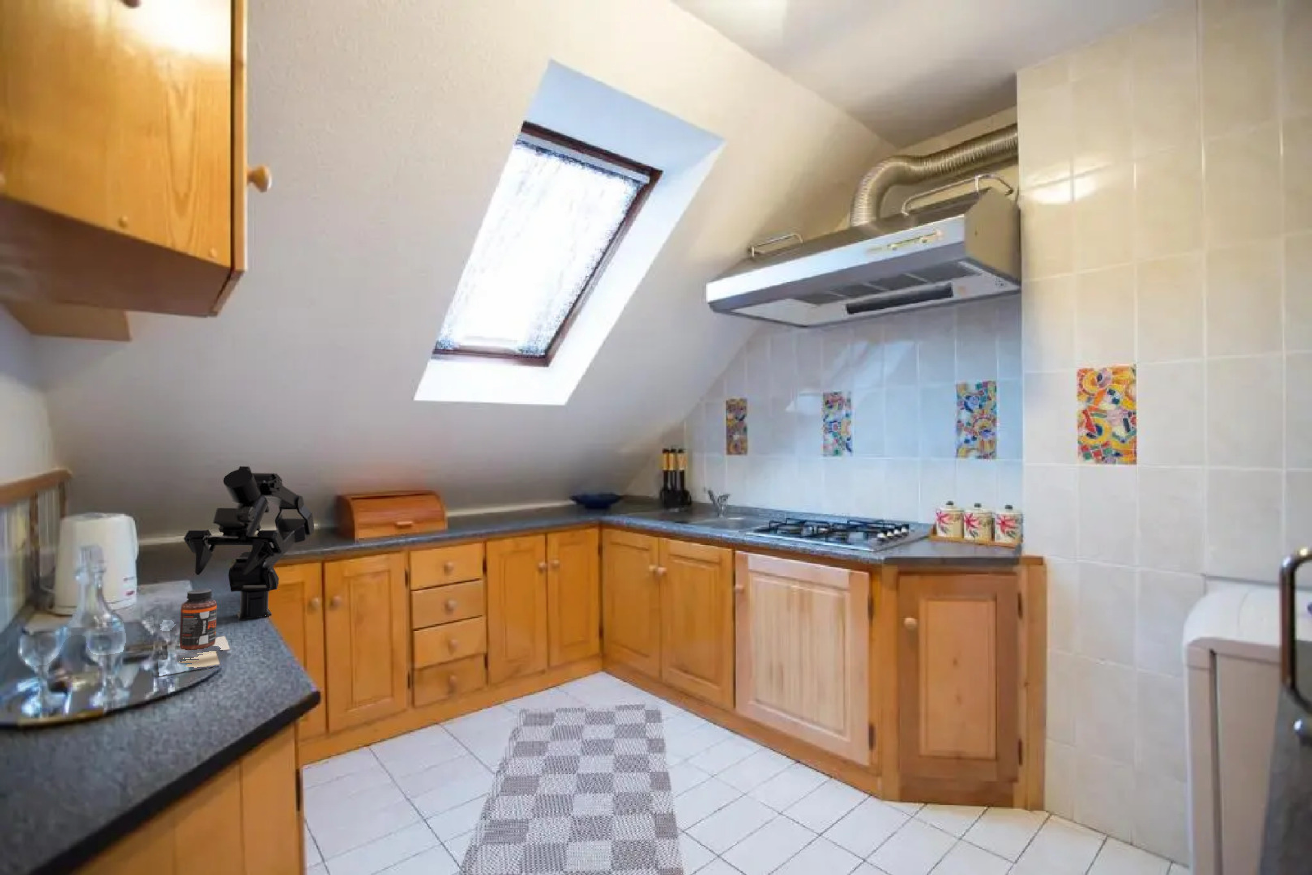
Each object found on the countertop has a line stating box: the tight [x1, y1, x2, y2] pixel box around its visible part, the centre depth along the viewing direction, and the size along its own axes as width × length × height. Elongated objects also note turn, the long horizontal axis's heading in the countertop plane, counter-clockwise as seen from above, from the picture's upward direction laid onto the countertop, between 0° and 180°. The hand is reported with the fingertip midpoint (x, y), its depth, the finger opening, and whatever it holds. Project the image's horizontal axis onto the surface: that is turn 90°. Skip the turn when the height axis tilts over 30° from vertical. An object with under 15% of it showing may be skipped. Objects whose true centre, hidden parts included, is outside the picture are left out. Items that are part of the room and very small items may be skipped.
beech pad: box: [179, 651, 221, 668], centre depth 118 cm, size 9×9×1 cm
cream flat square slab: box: [212, 635, 231, 651], centre depth 128 cm, size 10×10×1 cm
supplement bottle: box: [179, 588, 218, 650], centre depth 128 cm, size 6×6×11 cm
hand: (220, 573), depth 135 cm, fingers open, 9 cm apart
